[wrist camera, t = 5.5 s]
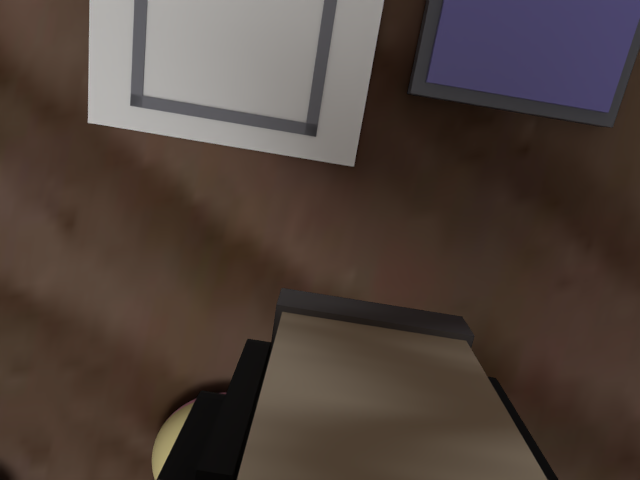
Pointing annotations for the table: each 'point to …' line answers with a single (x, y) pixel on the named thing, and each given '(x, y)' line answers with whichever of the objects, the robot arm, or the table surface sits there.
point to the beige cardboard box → (378, 399)
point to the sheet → (236, 71)
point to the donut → (169, 437)
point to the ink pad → (529, 56)
